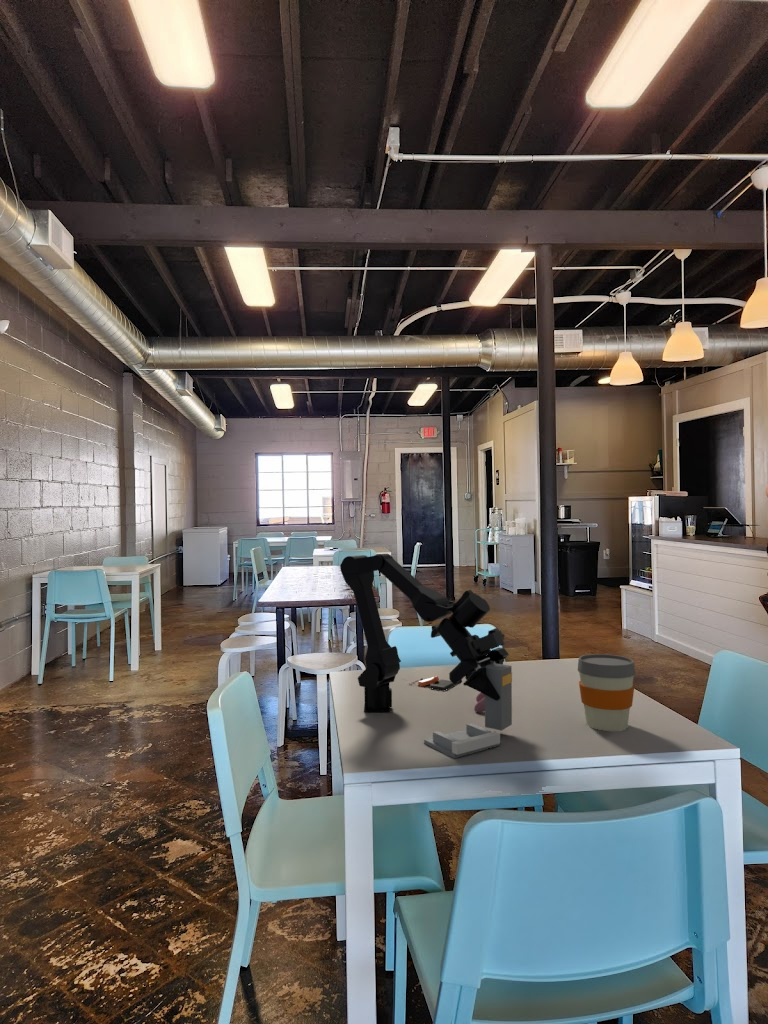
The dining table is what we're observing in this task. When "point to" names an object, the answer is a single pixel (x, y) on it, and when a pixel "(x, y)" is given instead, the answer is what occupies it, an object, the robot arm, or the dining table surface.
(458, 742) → the rail plate
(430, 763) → the dining table surface
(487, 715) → the block
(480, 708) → the video game controller
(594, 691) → the reusable coffee cup
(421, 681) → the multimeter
